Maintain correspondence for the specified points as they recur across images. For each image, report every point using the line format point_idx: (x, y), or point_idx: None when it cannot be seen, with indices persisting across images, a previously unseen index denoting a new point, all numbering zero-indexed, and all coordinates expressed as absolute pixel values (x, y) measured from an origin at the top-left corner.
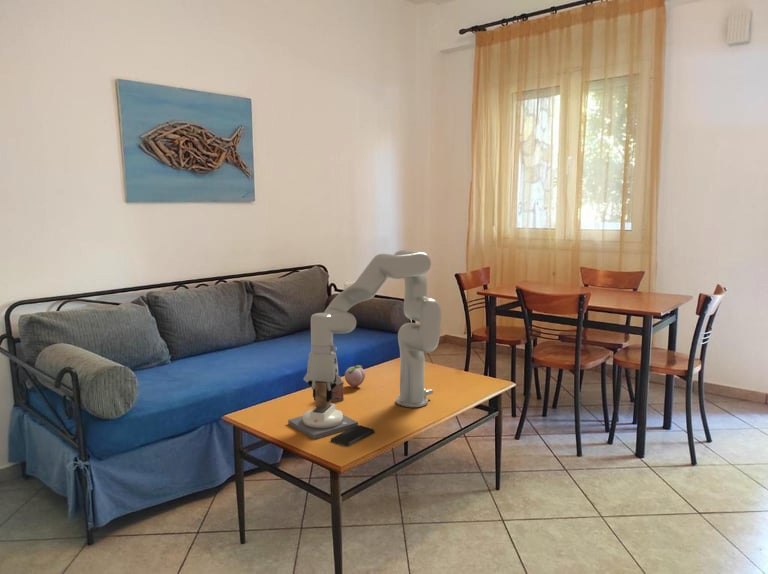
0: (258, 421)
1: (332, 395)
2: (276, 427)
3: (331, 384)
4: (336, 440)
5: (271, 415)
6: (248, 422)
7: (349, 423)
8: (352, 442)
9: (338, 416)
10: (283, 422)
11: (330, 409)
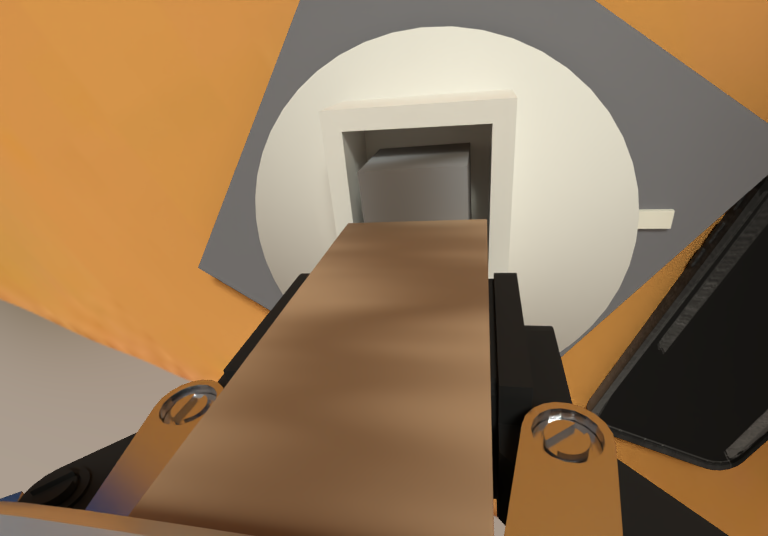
0: (56, 267)
1: (557, 347)
2: (195, 315)
3: (572, 531)
4: (633, 429)
5: (28, 158)
6: (32, 292)
7: (702, 203)
8: (759, 446)
9: (597, 234)
10: (174, 241)
11: (508, 253)
